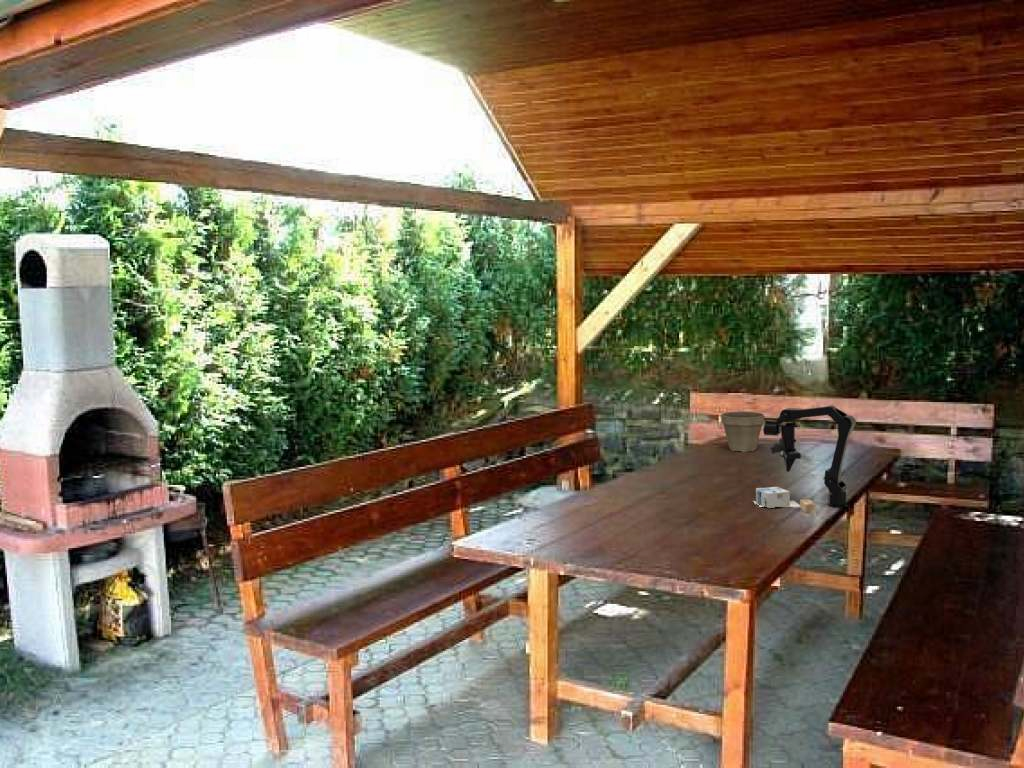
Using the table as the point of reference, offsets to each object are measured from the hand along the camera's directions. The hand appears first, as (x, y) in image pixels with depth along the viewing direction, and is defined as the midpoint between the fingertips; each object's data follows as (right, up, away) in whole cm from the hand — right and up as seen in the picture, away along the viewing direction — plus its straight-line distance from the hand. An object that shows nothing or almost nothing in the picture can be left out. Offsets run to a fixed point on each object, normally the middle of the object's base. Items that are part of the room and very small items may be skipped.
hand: (787, 471), depth 401 cm
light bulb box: (-8, -11, -14) cm, 19 cm away
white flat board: (-7, -14, -7) cm, 17 cm away
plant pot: (+14, -1, +134) cm, 134 cm away
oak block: (+2, -13, -24) cm, 28 cm away
